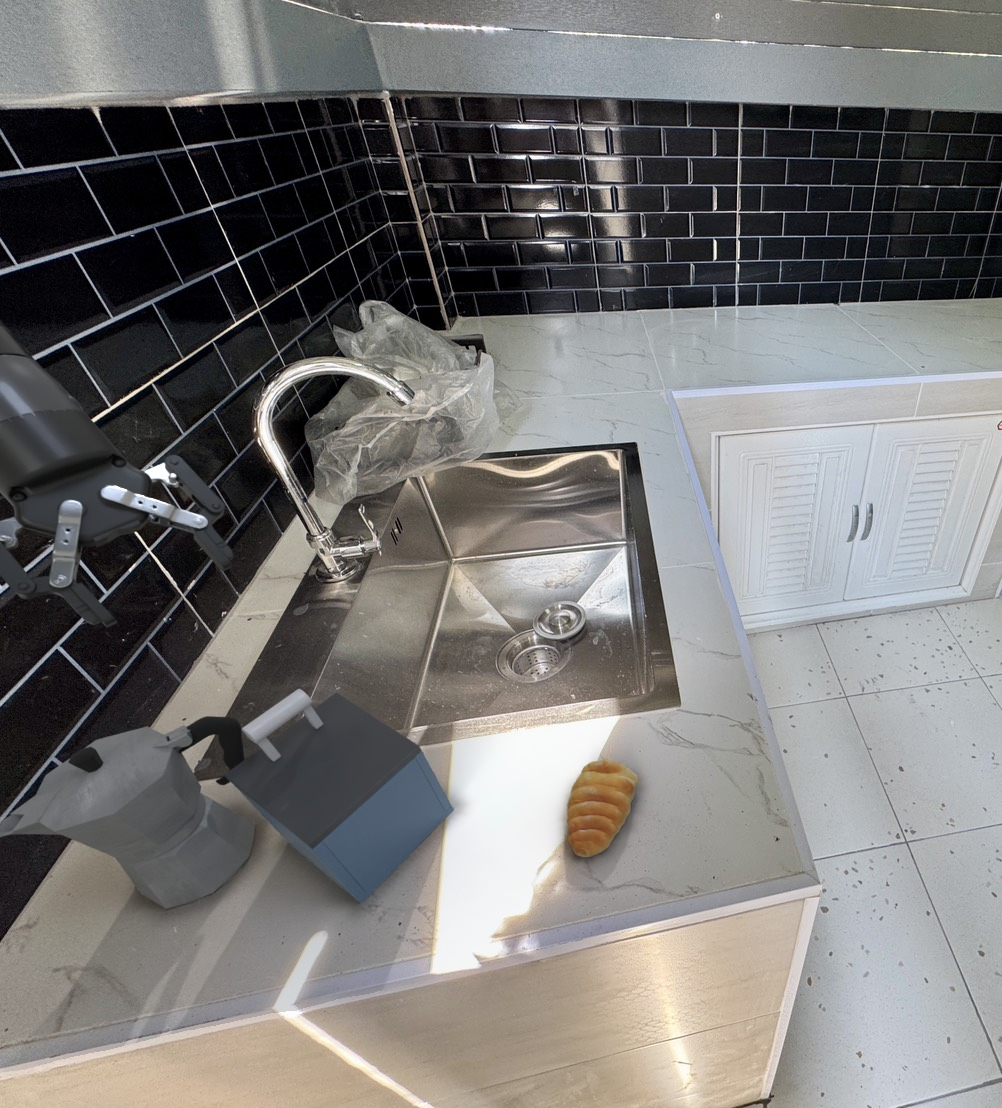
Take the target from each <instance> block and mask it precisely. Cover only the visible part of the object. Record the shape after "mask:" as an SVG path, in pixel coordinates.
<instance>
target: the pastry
mask: <svg viewBox="0 0 1002 1108" xmlns="http://www.w3.org/2000/svg"><path fill="white" fill-rule="evenodd" d="M638 784H639V777H638V775H637V774H636V773H635V772H633V770H632V769H630V768H628V767H626V766H625V765H624V764H622V763H620V762H616V761H612V760H607V759H600V760H598V761H597V760H594V761H591V762H588V763H587V764H586V765H585V766H583V768H582V769H581V772H580V774H579V775H578V777H577V778H576V780H575V782H574V783H573V785H572V786H571V791H570V796H569V798H568V801H567V805H566V806H567V808H566V809H567V810H566V816H567V818H566V823H567V834H568V835H567V841H568V842H569V844H570V847H571V848H572V851H573V852H574V854H575V855H576V856H578V857H582V858H591V857H593V856H597V855H599V854H601V853H603V852H604V851H605V850H607V849H608V848H609V847H610V846H611V843H612V842H613V840H614V838H615V837H616V836H617V834H619V832H620V831H621V828H622V827H623V826H624V825H625V823H626V821H627V818H628V817H629V815H630V813H631V810H632V807H631V804H632V802H633V799H634V796H635V793H636V792H635V791H636V788H637V785H638Z"/></svg>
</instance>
